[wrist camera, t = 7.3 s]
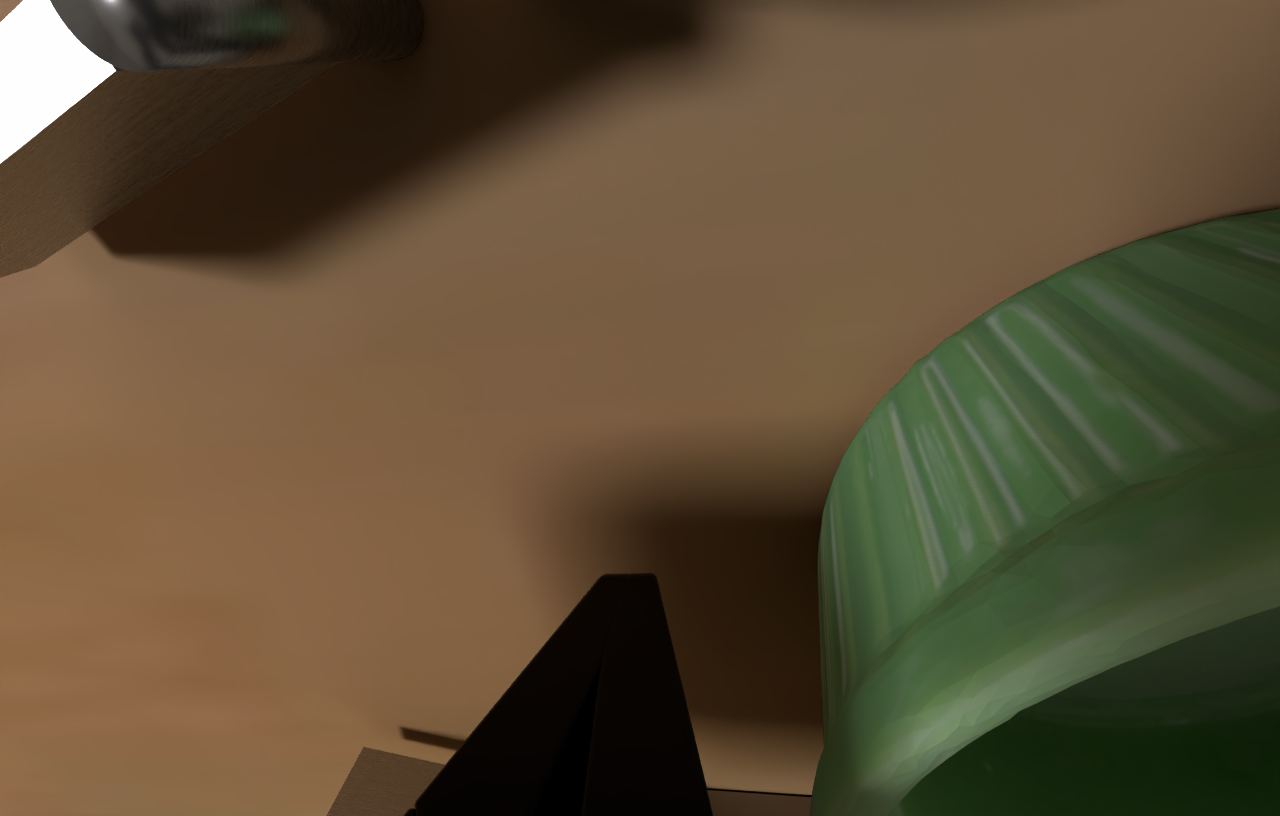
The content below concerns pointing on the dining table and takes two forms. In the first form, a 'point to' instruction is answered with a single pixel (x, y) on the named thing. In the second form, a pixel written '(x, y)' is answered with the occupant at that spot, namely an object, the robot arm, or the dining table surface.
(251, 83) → the bar
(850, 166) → the dining table surface
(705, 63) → the dining table surface
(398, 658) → the dining table surface
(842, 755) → the ramekin
